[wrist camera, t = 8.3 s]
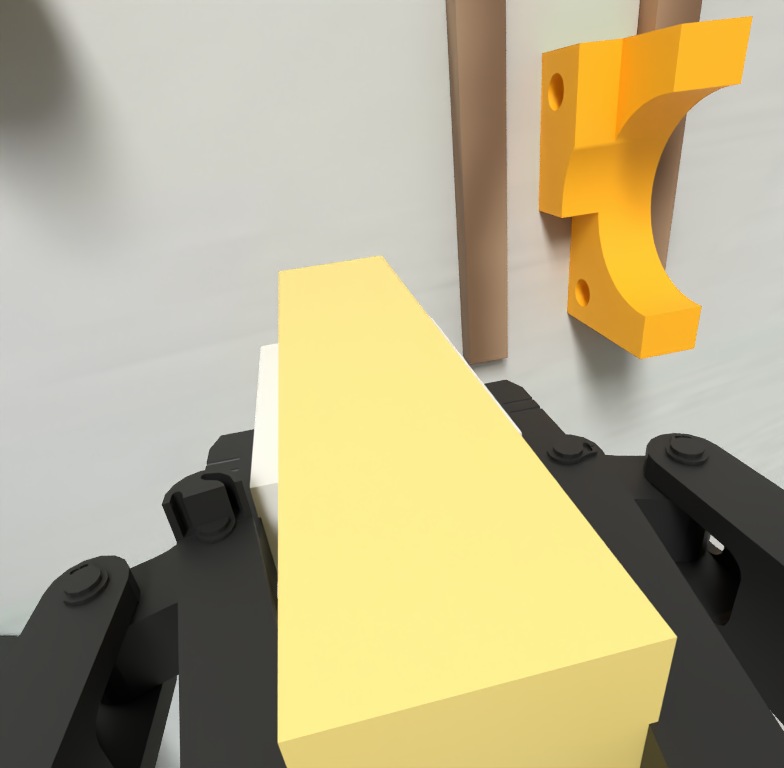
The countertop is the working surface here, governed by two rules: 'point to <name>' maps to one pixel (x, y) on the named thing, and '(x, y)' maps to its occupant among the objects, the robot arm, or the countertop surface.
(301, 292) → the yellow rectangular block
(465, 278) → the channel
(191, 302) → the countertop surface
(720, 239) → the countertop surface
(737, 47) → the pipe clamp
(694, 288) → the countertop surface
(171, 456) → the countertop surface
